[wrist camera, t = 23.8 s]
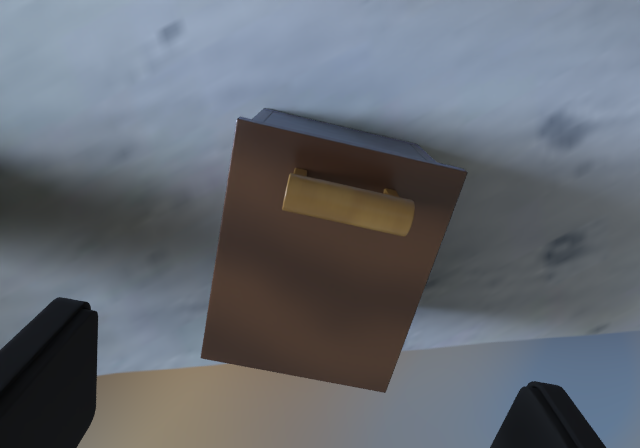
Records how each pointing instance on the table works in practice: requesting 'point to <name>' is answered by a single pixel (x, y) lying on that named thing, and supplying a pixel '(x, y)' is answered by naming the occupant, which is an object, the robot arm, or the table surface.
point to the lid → (323, 254)
